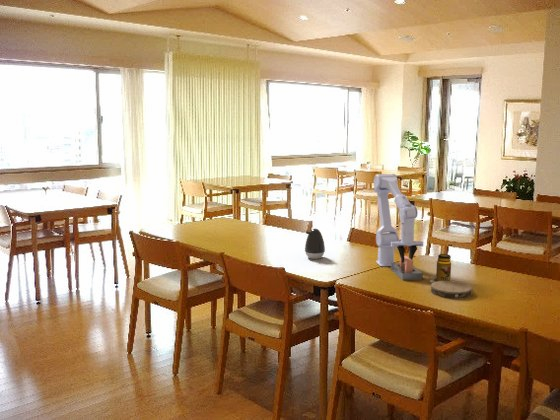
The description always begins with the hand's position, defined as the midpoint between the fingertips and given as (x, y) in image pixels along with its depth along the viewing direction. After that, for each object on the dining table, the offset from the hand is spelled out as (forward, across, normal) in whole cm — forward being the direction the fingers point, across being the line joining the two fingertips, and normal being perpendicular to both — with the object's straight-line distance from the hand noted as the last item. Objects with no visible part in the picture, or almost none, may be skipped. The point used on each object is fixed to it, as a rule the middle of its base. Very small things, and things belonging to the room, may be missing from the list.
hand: (406, 261), depth 257 cm
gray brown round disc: (+6, +10, -28) cm, 30 cm away
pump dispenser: (+6, -37, +34) cm, 51 cm away
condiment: (+6, +12, -12) cm, 18 cm away
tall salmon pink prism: (+4, 0, 0) cm, 4 cm away
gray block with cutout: (+6, 0, 0) cm, 6 cm away
